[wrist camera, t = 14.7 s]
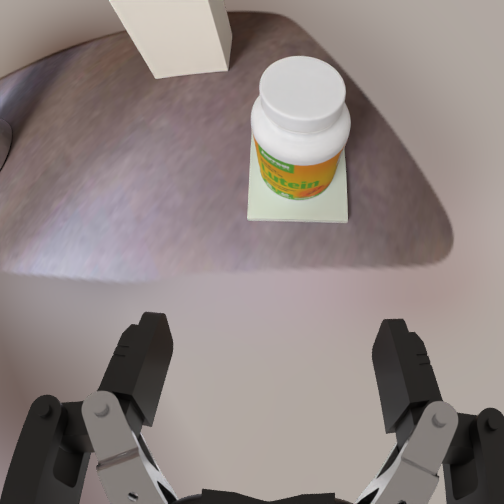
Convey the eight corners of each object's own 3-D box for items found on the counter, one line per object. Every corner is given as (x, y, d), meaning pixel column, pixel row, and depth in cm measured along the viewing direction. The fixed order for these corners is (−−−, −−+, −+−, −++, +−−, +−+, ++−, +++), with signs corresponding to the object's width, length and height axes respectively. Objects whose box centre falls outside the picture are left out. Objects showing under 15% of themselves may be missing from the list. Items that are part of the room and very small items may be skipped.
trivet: (248, 220, 23) (247, 218, 22) (253, 124, 24) (252, 120, 23) (346, 223, 22) (347, 221, 21) (341, 126, 23) (342, 122, 23)
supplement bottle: (252, 195, 22) (229, 123, 13) (268, 130, 23) (257, 40, 13) (328, 210, 22) (356, 145, 12) (338, 143, 22) (363, 57, 13)
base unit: (152, 81, 26) (93, -15, 13) (163, 43, 27) (117, -47, 14) (236, 72, 25) (206, -45, 12) (240, 34, 26) (217, -71, 13)
